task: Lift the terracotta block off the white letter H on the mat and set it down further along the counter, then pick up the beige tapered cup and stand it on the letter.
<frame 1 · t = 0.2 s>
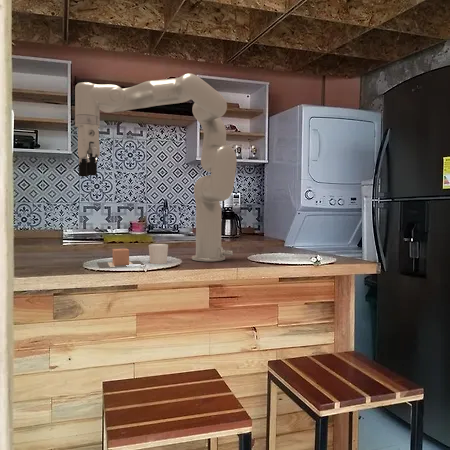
hand: (87, 175, 146), 30 cm above the worktop, tool pointing down, fingers open, 9 cm apart
beige tapered cup: (158, 265, 158), on the worktop
terracotta block: (120, 264, 153), point 1 cm above the worktop, touching letter mat
letter mat: (120, 265, 153), on the worktop
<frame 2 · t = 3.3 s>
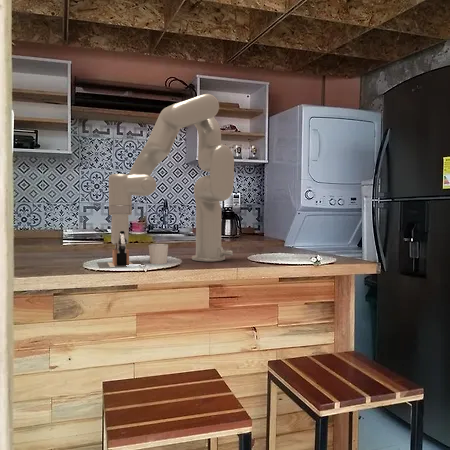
hand: (120, 263, 153), 1 cm above the worktop, tool pointing down, fingers closed on terracotta block, 5 cm apart
terracotta block: (120, 264, 153), point 1 cm above the worktop, touching gripper, letter mat
everything else where it was.
when the fingers open (2 cm above the worktop, at t = 8.3 s): terracotta block drops 2 cm, on the worktop.
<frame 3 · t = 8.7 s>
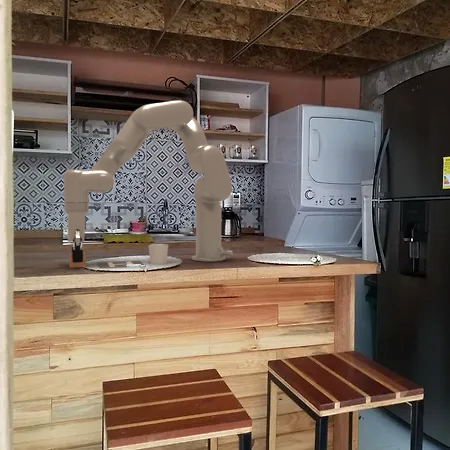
hand: (77, 260, 148), 3 cm above the worktop, tool pointing down, fingers open, 9 cm apart
terracotta block: (77, 268, 148), on the worktop
everything else where it was.
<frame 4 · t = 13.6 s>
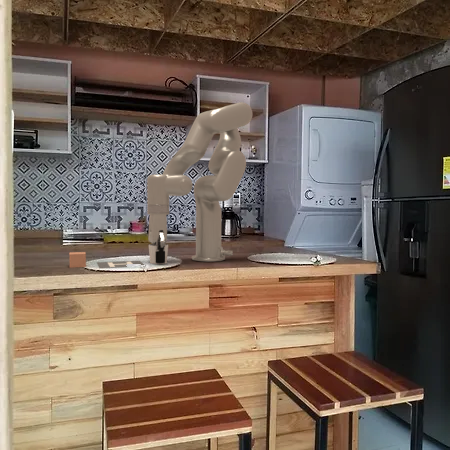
hand: (158, 261, 157), 1 cm above the worktop, tool pointing down, fingers closed on beige tapered cup, 6 cm apart
beige tapered cup: (158, 264, 158), on the worktop, touching gripper
everything else where it was.
when the fingers open (3 cm above the worktop, at t = 18.9 s): beige tapered cup drops 1 cm, resting on letter mat.
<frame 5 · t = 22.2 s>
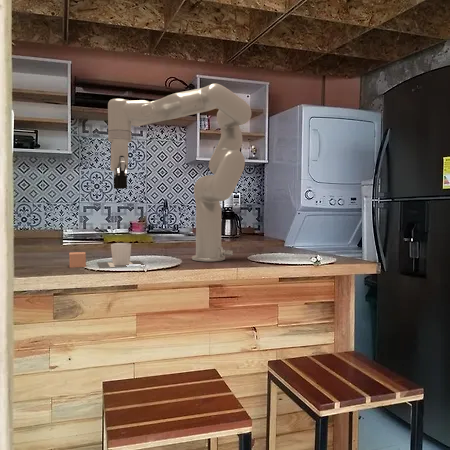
hand: (120, 188, 152), 26 cm above the worktop, tool pointing down, fingers open, 9 cm apart
beige tapered cup: (121, 264, 153), resting on letter mat
everything else where it was.
at the end: beige tapered cup 0.2 cm off-centre on the letter mat, point 0.4 cm above the letter mat's base; beige tapered cup tilted 0°; terracotta block touching worktop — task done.
